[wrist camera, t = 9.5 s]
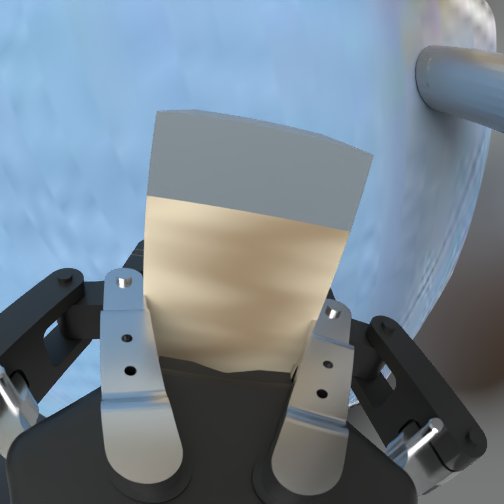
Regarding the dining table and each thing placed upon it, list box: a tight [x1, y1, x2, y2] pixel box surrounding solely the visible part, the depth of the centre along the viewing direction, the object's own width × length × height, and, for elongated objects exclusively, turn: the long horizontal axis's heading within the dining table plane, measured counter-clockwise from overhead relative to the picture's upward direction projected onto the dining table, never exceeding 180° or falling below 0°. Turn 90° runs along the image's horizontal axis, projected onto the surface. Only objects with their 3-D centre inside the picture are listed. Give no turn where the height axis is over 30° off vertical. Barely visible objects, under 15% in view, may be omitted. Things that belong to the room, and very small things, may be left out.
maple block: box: [143, 110, 373, 373], centre depth 11 cm, size 5×5×12 cm
